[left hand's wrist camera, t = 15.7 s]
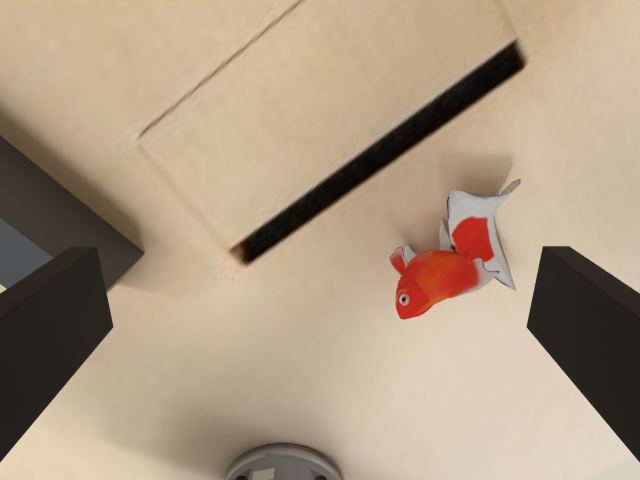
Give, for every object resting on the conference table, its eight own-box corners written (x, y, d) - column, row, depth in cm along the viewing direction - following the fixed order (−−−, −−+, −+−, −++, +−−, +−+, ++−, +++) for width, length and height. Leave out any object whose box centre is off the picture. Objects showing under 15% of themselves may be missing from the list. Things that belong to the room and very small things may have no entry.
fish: (338, 234, 37) (419, 287, 29) (462, 135, 40) (563, 160, 33) (375, 308, 43) (449, 367, 36) (478, 218, 47) (566, 254, 39)
